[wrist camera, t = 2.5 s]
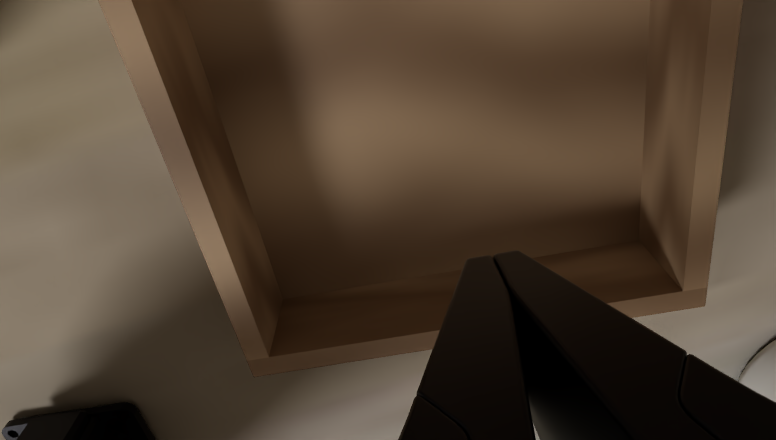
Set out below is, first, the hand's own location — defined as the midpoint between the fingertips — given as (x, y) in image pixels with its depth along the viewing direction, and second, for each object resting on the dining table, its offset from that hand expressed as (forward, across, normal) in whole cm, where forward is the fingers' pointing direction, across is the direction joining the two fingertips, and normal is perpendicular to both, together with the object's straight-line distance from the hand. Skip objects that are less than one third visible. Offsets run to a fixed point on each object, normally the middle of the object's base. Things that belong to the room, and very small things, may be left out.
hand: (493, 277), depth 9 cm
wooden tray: (+11, 0, -1) cm, 11 cm away
